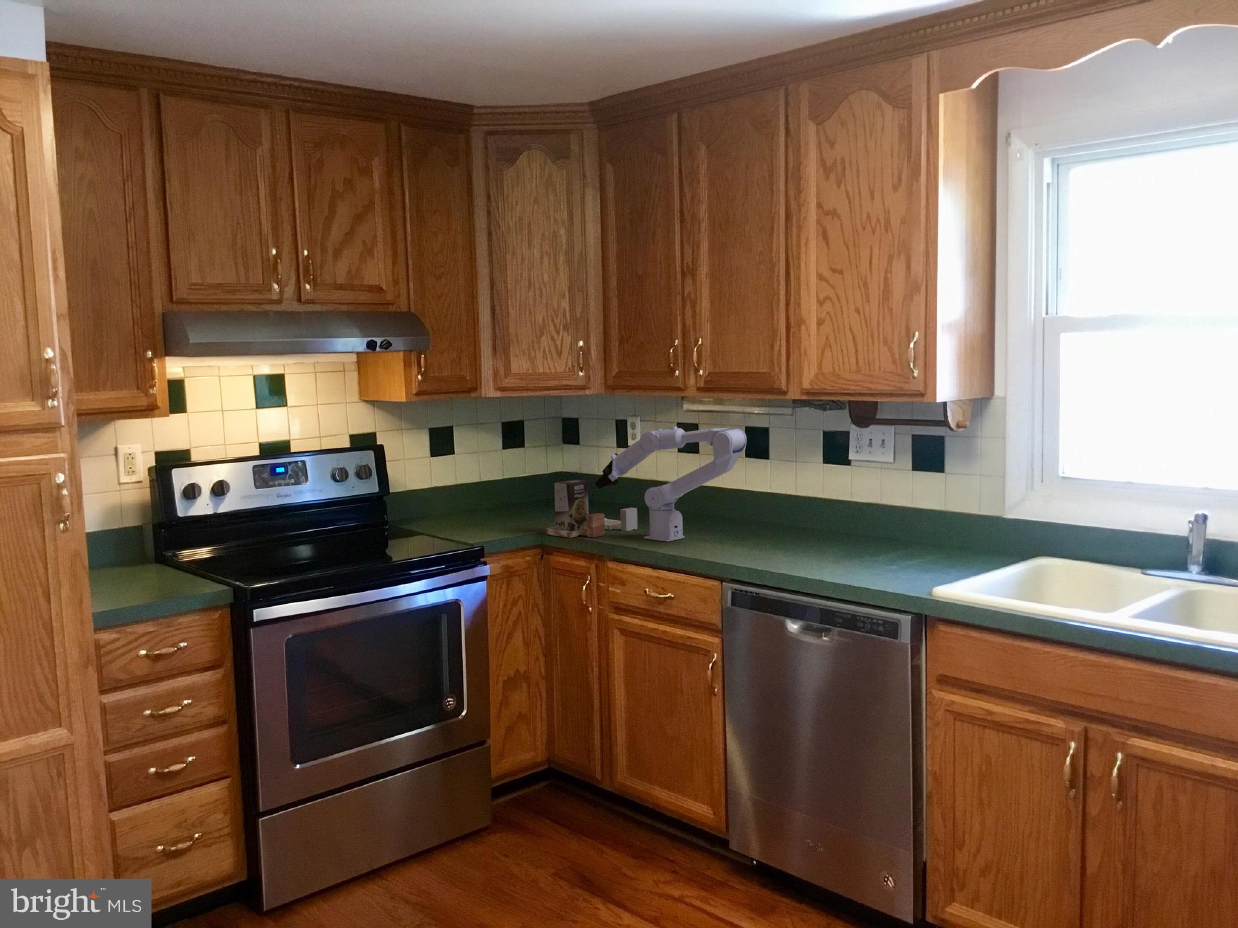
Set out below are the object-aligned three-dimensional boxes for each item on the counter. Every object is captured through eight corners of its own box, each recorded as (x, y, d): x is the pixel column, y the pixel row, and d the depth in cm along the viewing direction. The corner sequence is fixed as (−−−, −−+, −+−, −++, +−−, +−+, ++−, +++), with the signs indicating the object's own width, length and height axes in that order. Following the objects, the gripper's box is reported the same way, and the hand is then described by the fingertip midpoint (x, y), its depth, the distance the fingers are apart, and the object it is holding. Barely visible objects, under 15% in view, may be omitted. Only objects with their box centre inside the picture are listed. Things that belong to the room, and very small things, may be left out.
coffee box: (571, 536, 330) (569, 483, 328) (555, 534, 333) (553, 482, 332) (590, 531, 337) (588, 480, 335) (574, 530, 341) (572, 478, 339)
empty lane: (640, 528, 340) (640, 507, 340) (623, 531, 335) (622, 510, 334) (603, 523, 352) (603, 503, 351) (586, 526, 346) (585, 506, 345)
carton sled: (614, 532, 332) (613, 511, 331) (583, 539, 322) (582, 517, 322) (577, 527, 343) (576, 507, 342) (546, 534, 334) (545, 513, 333)
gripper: (629, 436, 330) (599, 459, 337) (615, 458, 318) (584, 481, 325) (645, 452, 331) (614, 475, 338) (632, 475, 319) (600, 498, 326)
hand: (600, 479), depth 332 cm, fingers open, 7 cm apart
